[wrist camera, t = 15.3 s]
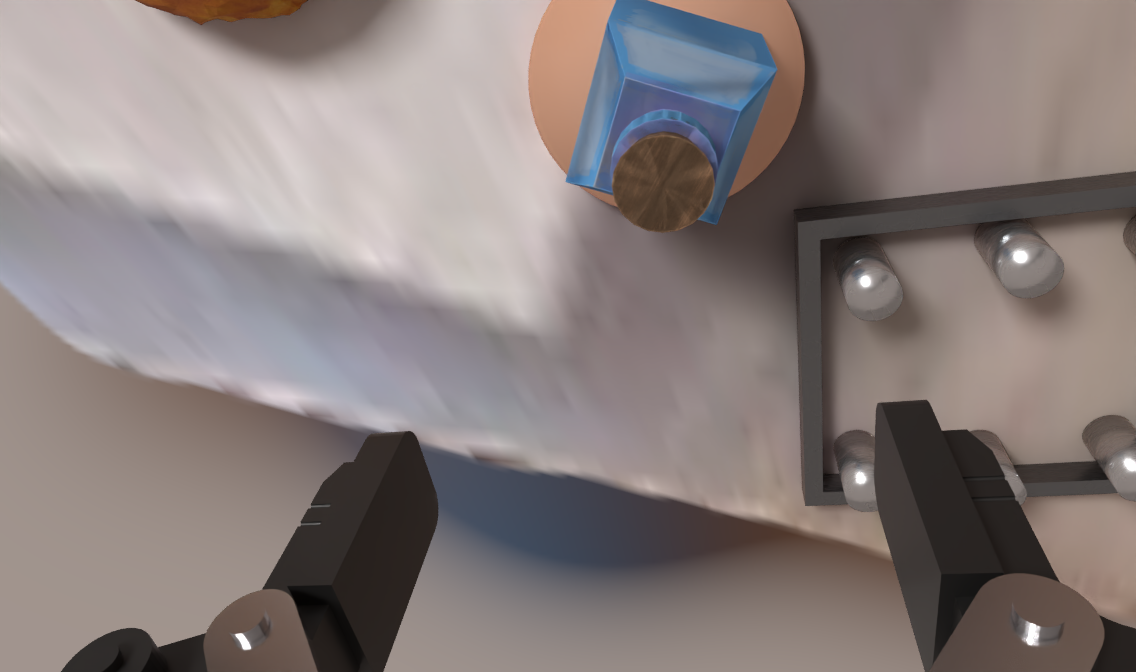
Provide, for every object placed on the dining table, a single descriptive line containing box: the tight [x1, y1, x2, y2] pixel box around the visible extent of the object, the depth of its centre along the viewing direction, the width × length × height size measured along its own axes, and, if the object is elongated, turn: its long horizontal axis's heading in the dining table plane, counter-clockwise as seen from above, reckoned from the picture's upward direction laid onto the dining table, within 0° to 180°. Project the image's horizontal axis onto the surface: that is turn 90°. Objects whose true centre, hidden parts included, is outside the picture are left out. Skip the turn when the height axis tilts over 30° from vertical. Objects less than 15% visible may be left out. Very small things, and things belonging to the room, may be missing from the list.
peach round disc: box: [529, 0, 805, 207], centre depth 35 cm, size 12×12×1 cm
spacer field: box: [794, 172, 1136, 512], centre depth 39 cm, size 19×18×4 cm
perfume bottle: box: [565, 0, 777, 233], centre depth 29 cm, size 6×6×12 cm
